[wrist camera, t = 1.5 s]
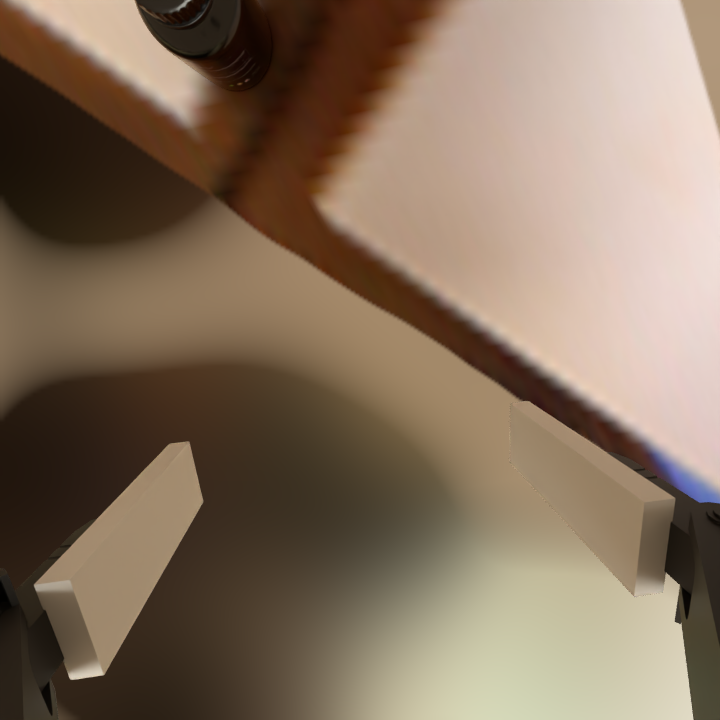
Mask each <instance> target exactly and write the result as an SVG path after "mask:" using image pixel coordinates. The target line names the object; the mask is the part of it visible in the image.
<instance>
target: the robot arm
mask: <svg viewBox="0 0 720 720" xmlns="http://www.w3.org/2000/svg"><path fill="white" fill-rule="evenodd" d="M510 463H511V465H512V466H513V467H514V468H515V469H516V470H517V471H518V472H519V473H520V474H521V475H522V476H523V478H524V479H525V480H526V481H527V482H528V483H529V484H530V485H531V486H532V487H533V488H534V489H535V490H536V492H537V493H538V494H539V495H540V496H541V497H542V498H543V499H544V500H545V501H546V502H547V503H548V504H549V506H550V507H551V508H552V509H553V510H554V511H555V512H556V513H557V514H558V515H559V516H560V517H561V518H562V520H564V522H565V523H566V524H567V525H568V526H569V527H570V528H571V529H572V530H573V531H574V532H575V534H576V535H577V536H578V537H579V538H580V539H581V540H582V541H583V542H584V543H585V544H586V545H587V547H588V548H589V549H590V550H591V551H592V552H593V553H594V554H595V555H596V556H597V557H598V558H599V559H600V561H601V562H602V563H603V564H604V565H605V566H606V567H607V568H608V569H609V570H610V571H611V572H612V573H613V575H614V576H615V577H616V578H617V579H618V580H619V581H620V582H621V583H622V584H623V585H624V586H625V587H626V589H627V590H628V591H629V592H630V593H631V594H632V595H633V596H634V597H637V596H644V595H651V594H657V593H663V589H664V582H665V574H666V573H667V574H668V575H670V576H671V577H672V578H673V579H674V580H675V581H676V582H677V583H678V584H680V589H679V596H678V602H677V609H676V616H675V622H677V623H679V624H681V623H682V631H683V639H684V647H685V655H686V663H687V670H688V678H689V687H690V694H691V702H692V710H693V718H694V720H720V504H718V503H711V502H705V503H699V502H697V501H696V500H694V499H693V498H691V497H689V496H688V495H686V494H685V493H683V492H681V491H680V490H678V489H677V488H675V487H673V486H672V485H670V484H669V483H667V482H666V481H664V480H662V479H661V478H657V476H656V475H654V474H653V473H651V472H650V471H648V470H645V468H643V467H642V466H640V465H638V464H637V463H635V462H634V461H632V460H631V459H628V458H626V457H623V456H620V455H618V454H615V453H613V452H609V453H606V452H605V451H603V450H602V449H600V448H599V447H597V446H596V445H594V444H593V443H591V442H589V441H588V440H586V439H585V438H583V437H582V436H580V435H579V434H577V433H576V432H574V431H573V430H571V429H570V428H568V427H567V426H565V425H564V424H562V423H561V422H559V421H558V420H556V419H555V418H553V417H552V416H550V415H548V414H547V413H545V412H544V411H542V410H541V409H539V408H538V407H536V406H535V405H533V404H532V403H530V402H529V401H523V402H515V403H510ZM202 503H203V499H202V495H201V491H200V486H199V482H198V478H197V473H196V470H195V465H194V461H193V456H192V452H191V448H190V443H189V442H181V443H173V444H169V445H168V446H167V447H166V448H165V449H164V450H163V451H162V452H161V453H160V454H159V455H158V457H156V458H155V460H154V461H153V462H152V463H151V464H150V465H149V466H148V467H147V468H146V469H145V470H144V471H143V472H142V473H141V474H140V475H139V476H138V477H137V478H136V479H135V480H134V481H133V482H132V483H131V484H130V485H129V487H128V488H127V489H126V490H125V491H124V492H123V493H122V494H121V495H120V496H119V497H118V498H117V499H116V500H115V501H114V502H113V503H112V504H111V505H110V506H109V507H108V508H107V509H106V510H105V511H104V512H103V514H102V515H101V516H100V517H99V518H98V519H95V520H91V521H90V522H88V523H87V524H85V525H84V526H83V527H81V528H79V529H78V530H76V531H75V532H74V533H73V534H72V535H71V536H70V537H69V538H68V539H67V540H66V541H65V542H64V543H63V544H62V545H61V546H60V548H59V549H57V550H56V551H55V552H54V553H53V554H52V555H51V556H50V557H49V559H48V560H46V561H44V563H42V565H40V567H39V568H37V569H36V570H35V571H34V573H32V574H31V575H30V576H29V578H27V580H25V581H24V582H23V583H22V584H21V585H20V586H19V587H18V588H17V589H16V590H15V591H14V588H13V586H12V583H11V581H10V578H9V576H8V574H7V572H6V570H5V569H1V568H0V720H58V711H57V703H56V694H55V689H54V686H53V684H52V681H51V677H52V676H53V675H54V673H55V672H56V670H57V669H58V667H59V666H60V665H61V663H62V662H63V661H64V664H65V667H66V669H67V672H68V674H69V677H70V679H71V680H73V679H80V678H87V677H94V676H100V675H104V674H105V672H106V670H107V669H108V667H109V665H110V663H111V662H112V660H113V658H114V656H115V654H116V653H117V651H118V650H119V648H120V646H121V644H122V643H123V641H124V639H125V637H126V636H127V634H128V632H129V630H130V629H131V627H132V625H133V623H134V621H135V620H136V618H137V616H138V614H139V613H140V611H141V609H142V607H143V606H144V604H145V602H146V601H147V599H148V597H149V595H150V594H151V592H152V590H153V588H154V586H155V585H156V583H157V581H158V580H159V578H160V576H161V574H162V573H163V571H164V569H165V567H166V566H167V564H168V562H169V560H170V559H171V557H172V555H173V553H174V552H175V550H176V548H177V547H178V545H179V543H180V541H181V540H182V538H183V536H184V534H185V533H186V531H187V529H188V527H189V525H190V524H191V522H192V520H193V519H194V517H195V515H196V513H197V512H198V510H199V508H200V506H201V505H202Z"/></svg>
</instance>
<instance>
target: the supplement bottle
mask: <svg viewBox="0 0 720 720" xmlns="http://www.w3.org/2000/svg"><path fill="white" fill-rule="evenodd" d="M135 3H136V6H137V9H138V11H139V14H140V16H141V18H142V20H143V21H144V23H145V25H146V26H147V28H148V29H149V31H150V32H151V34H152V35H153V36H154V37H155V39H156V40H157V41H158V42H159V43H160V44H161V45H162V46H163V47H165V48H166V49H167V50H168V51H169V52H171V53H172V54H173V55H175V56H176V57H178V58H179V59H180V60H182V61H183V62H185V63H186V64H187V65H189V66H190V67H192V68H193V69H194V70H196V71H197V72H198V73H200V74H201V75H203V76H204V77H205V78H207V79H208V80H210V81H211V82H213V83H214V84H216V85H218V86H220V87H222V88H224V89H227V90H233V91H240V90H245V89H248V88H250V87H252V86H254V85H255V84H256V83H257V82H259V80H260V79H261V78H262V77H263V76H264V74H265V72H266V70H267V68H268V65H269V62H270V58H271V51H272V39H271V32H270V28H269V24H268V21H267V19H266V16H265V14H264V12H263V10H262V8H261V6H260V4H259V2H258V1H257V0H135Z"/></svg>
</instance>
